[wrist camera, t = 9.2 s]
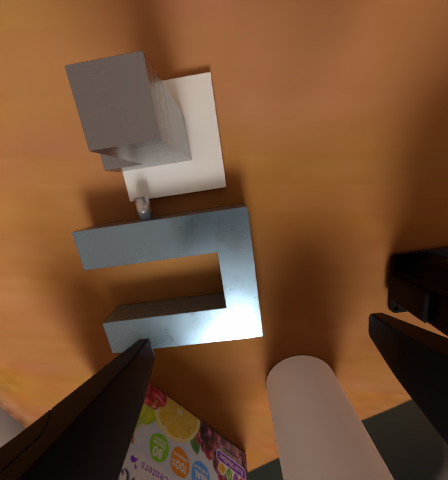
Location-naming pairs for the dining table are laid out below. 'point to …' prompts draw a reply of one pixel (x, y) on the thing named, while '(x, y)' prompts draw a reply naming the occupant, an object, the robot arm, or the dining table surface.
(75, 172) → the dining table surface
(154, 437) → the snack box
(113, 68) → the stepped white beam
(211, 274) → the dining table surface
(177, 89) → the tile
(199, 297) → the frame
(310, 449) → the cup
